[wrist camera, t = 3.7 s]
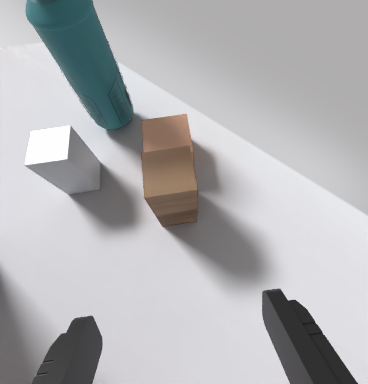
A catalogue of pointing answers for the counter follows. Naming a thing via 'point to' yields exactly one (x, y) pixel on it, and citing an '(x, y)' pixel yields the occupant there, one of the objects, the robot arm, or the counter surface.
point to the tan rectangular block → (170, 185)
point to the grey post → (63, 160)
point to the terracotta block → (166, 133)
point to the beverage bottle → (83, 57)
